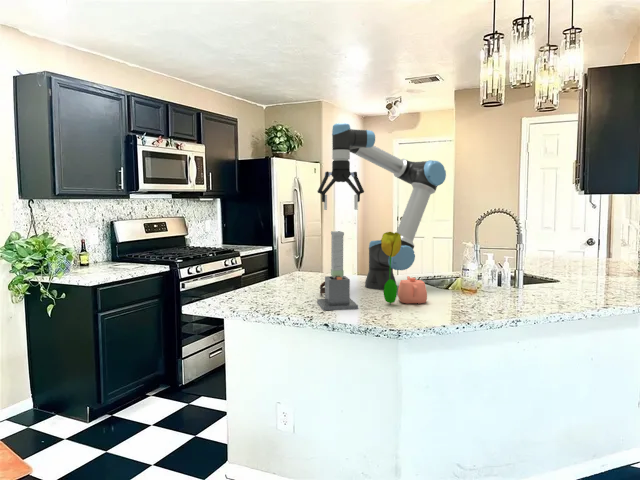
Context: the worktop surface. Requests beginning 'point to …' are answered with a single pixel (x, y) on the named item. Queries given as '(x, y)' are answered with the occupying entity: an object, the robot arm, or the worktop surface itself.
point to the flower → (390, 248)
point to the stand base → (337, 295)
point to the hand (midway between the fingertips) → (340, 209)
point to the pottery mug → (322, 290)
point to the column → (337, 254)
